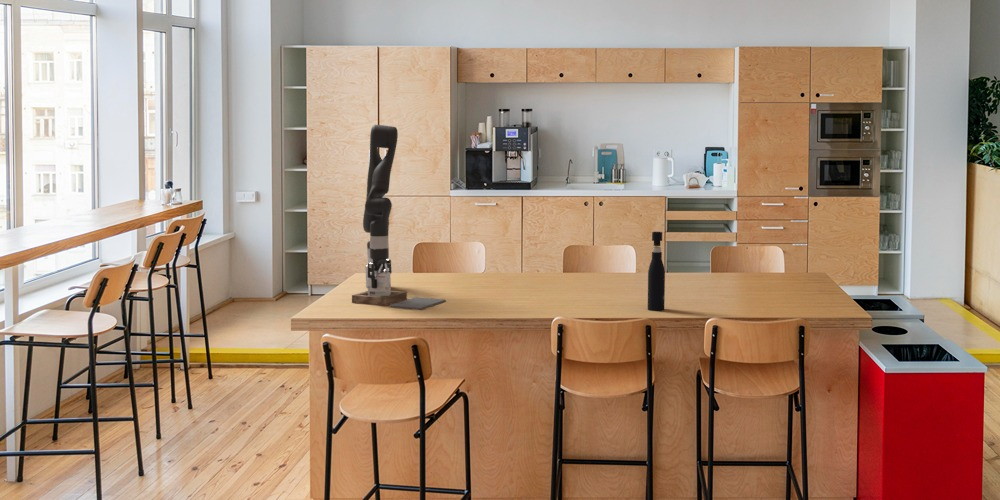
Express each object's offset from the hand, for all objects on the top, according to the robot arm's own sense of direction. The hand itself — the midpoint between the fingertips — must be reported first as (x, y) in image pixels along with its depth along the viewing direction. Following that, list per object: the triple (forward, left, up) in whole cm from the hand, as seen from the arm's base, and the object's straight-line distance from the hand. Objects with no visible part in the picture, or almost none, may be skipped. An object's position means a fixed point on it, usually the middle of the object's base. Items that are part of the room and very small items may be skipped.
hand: (380, 286), depth 420 cm
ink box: (0, 0, -6) cm, 6 cm away
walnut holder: (0, 0, -6) cm, 6 cm away
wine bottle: (+107, +29, -6) cm, 111 cm away
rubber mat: (+18, 0, -6) cm, 19 cm away
